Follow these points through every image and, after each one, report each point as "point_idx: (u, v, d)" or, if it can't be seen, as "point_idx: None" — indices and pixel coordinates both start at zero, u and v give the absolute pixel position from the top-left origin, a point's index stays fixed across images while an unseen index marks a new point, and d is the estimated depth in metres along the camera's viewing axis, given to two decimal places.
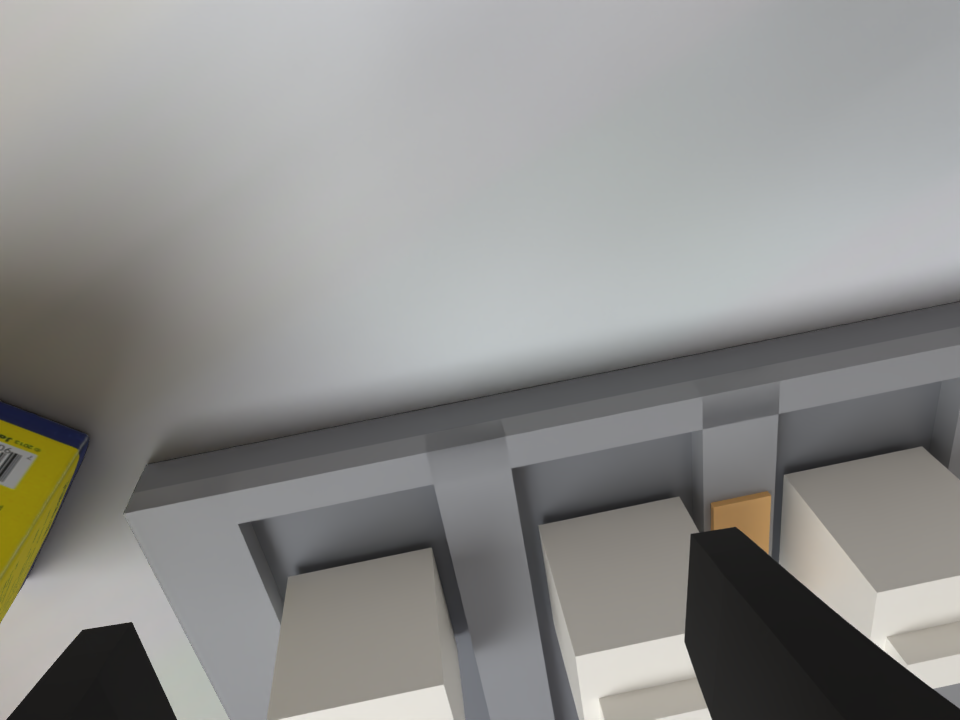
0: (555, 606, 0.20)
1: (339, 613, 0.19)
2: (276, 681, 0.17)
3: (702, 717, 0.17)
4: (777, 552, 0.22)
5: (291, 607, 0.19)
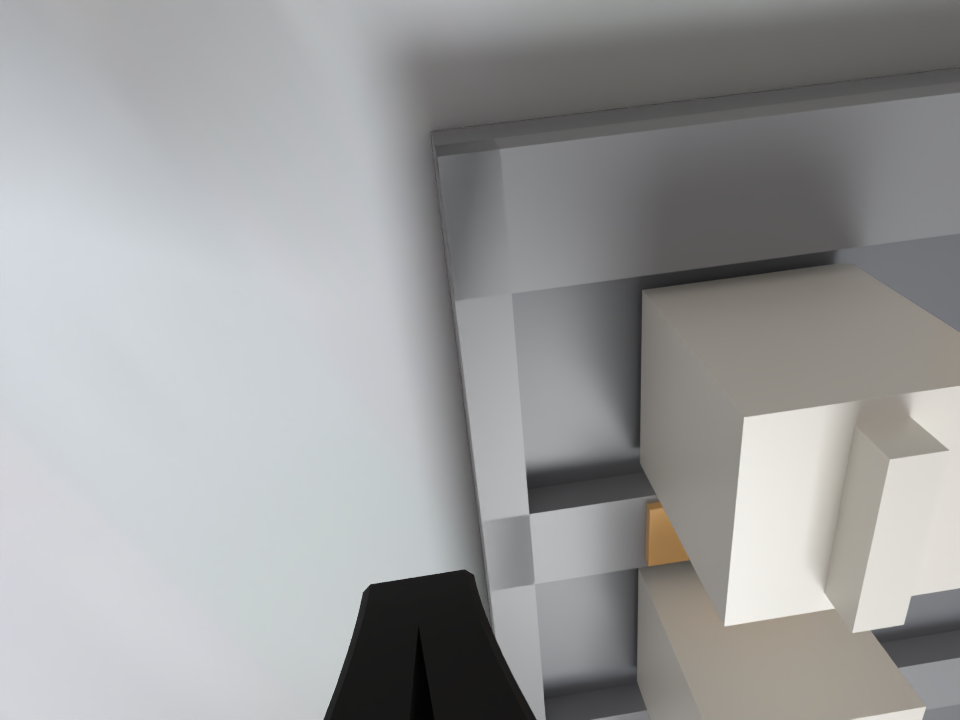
0: None
1: None
2: None
3: None
4: None
5: None
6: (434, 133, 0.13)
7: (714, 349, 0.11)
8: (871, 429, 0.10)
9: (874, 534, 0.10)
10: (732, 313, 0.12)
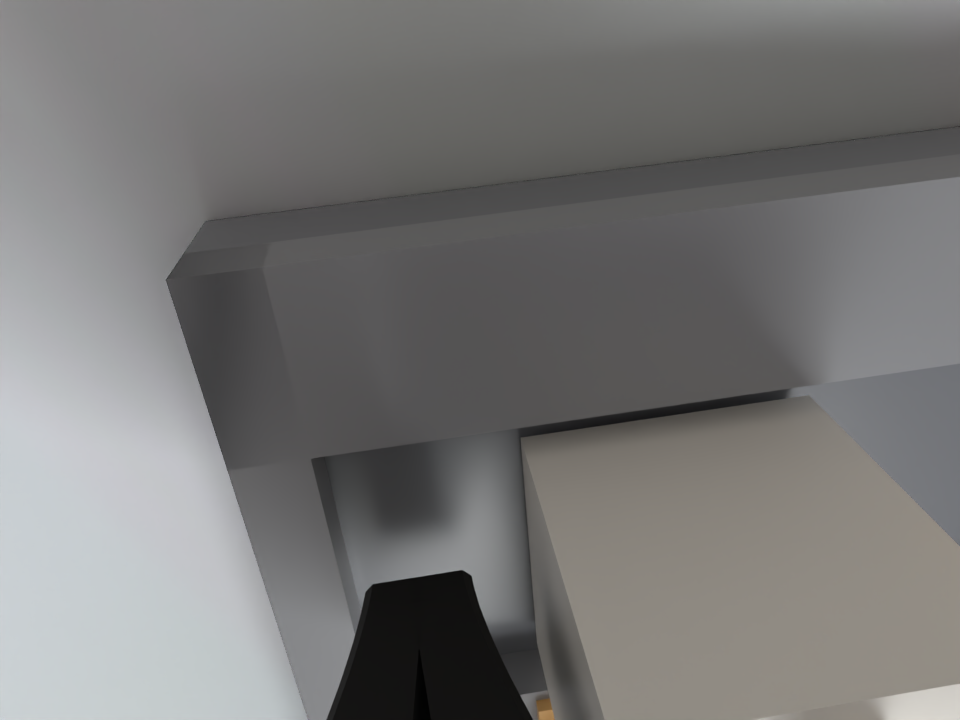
0: None
1: None
2: None
3: None
4: None
5: None
6: (207, 225, 0.09)
7: (596, 571, 0.08)
8: None
9: None
10: (635, 491, 0.09)
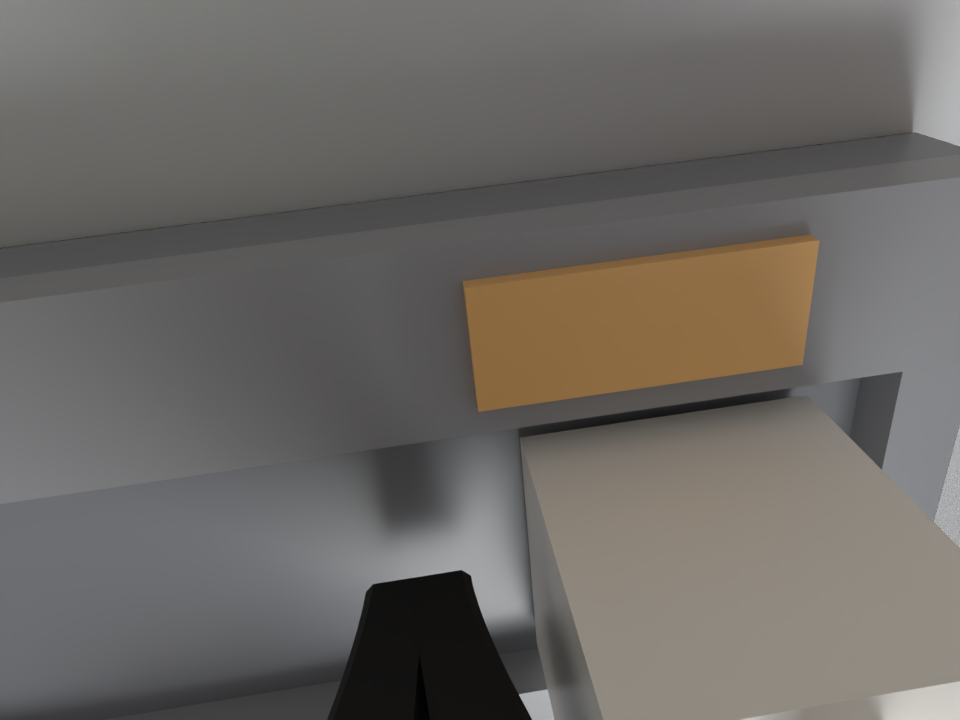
0: None
1: None
2: None
3: None
4: (330, 657, 0.12)
5: None
6: None
7: (593, 569, 0.08)
8: None
9: None
10: (633, 491, 0.09)
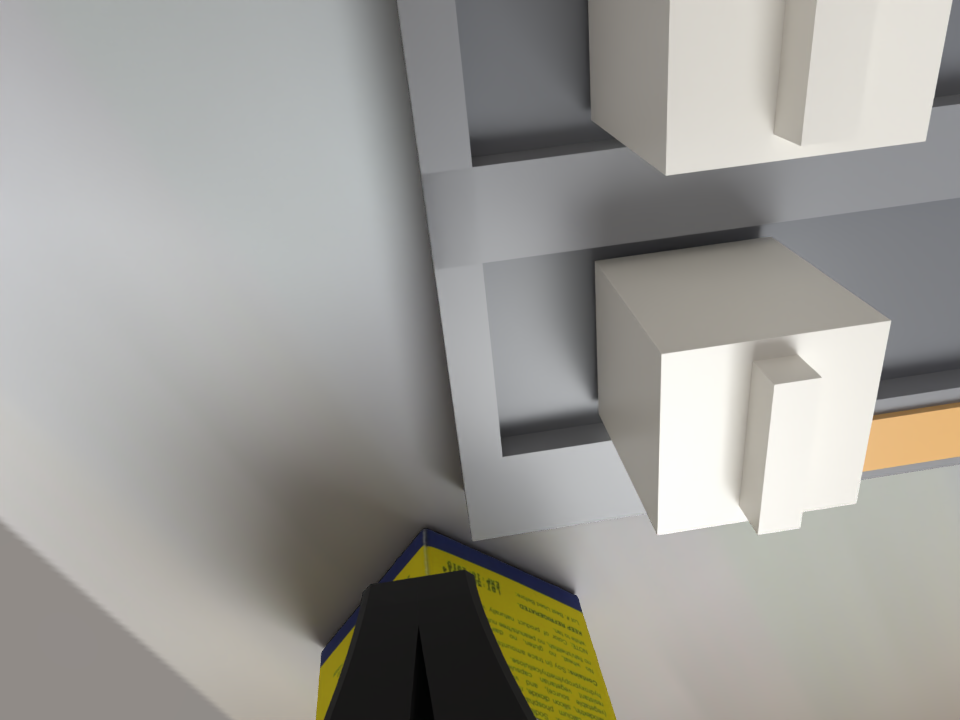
0: None
1: (617, 397, 0.16)
2: (641, 497, 0.15)
3: None
4: None
5: (611, 432, 0.17)
6: None
7: None
8: None
9: None
10: None
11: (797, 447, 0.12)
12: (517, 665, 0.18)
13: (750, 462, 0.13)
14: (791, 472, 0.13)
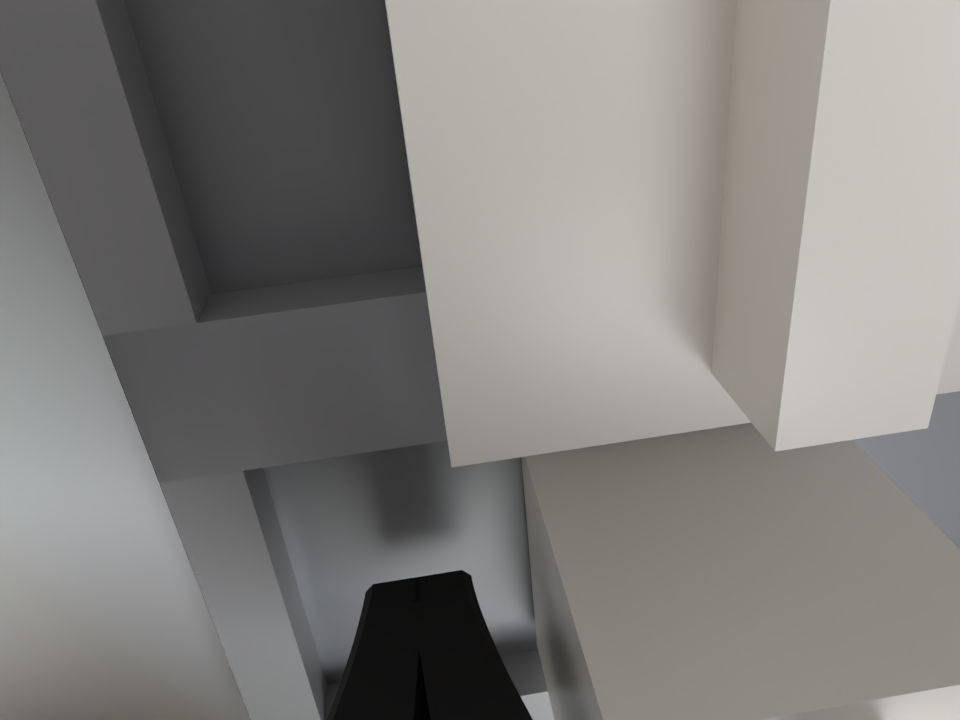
0: None
1: (554, 671, 0.10)
2: None
3: None
4: None
5: (550, 698, 0.11)
6: None
7: None
8: None
9: None
10: None
11: None
12: None
13: None
14: None
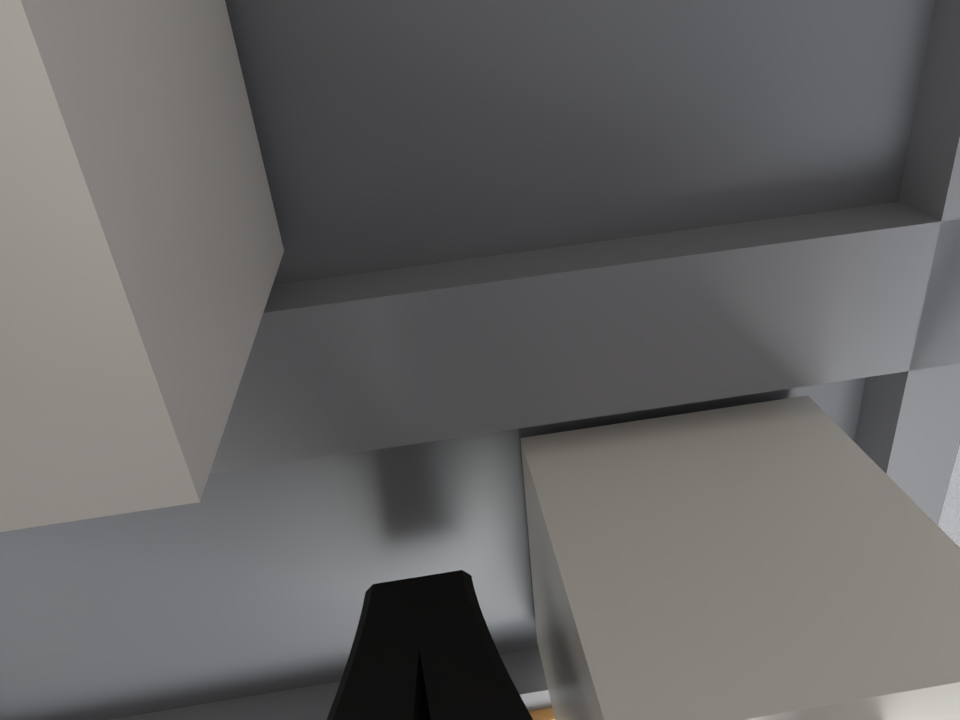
0: None
1: (555, 669, 0.10)
2: None
3: None
4: None
5: (551, 696, 0.11)
6: None
7: None
8: None
9: None
10: None
11: None
12: None
13: None
14: None
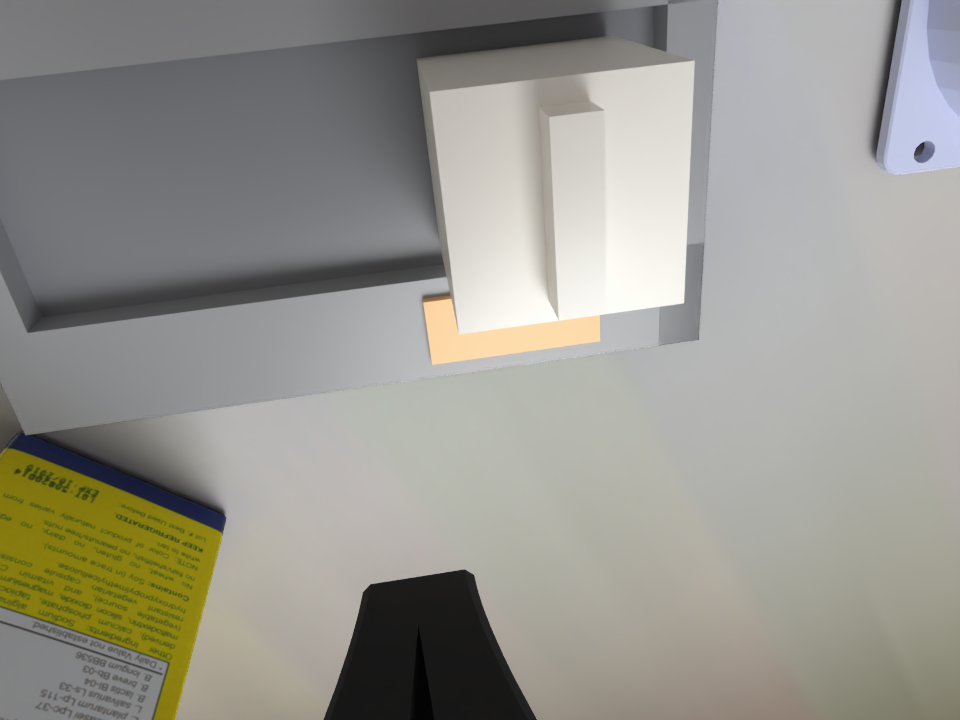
0: None
1: (437, 205, 0.14)
2: (453, 305, 0.14)
3: None
4: None
5: (443, 257, 0.15)
6: None
7: None
8: None
9: None
10: None
11: (588, 204, 0.11)
12: (62, 570, 0.16)
13: (548, 236, 0.12)
14: (586, 238, 0.11)
